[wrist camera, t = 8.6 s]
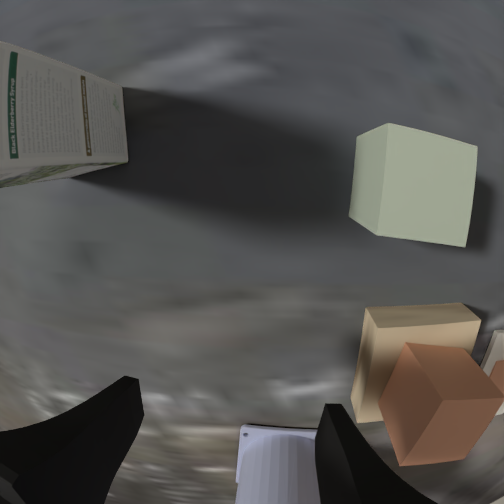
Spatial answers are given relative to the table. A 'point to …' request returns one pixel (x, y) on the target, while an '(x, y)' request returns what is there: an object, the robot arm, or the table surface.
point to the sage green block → (413, 185)
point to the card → (495, 362)
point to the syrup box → (56, 119)
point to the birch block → (393, 339)
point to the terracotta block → (437, 404)
